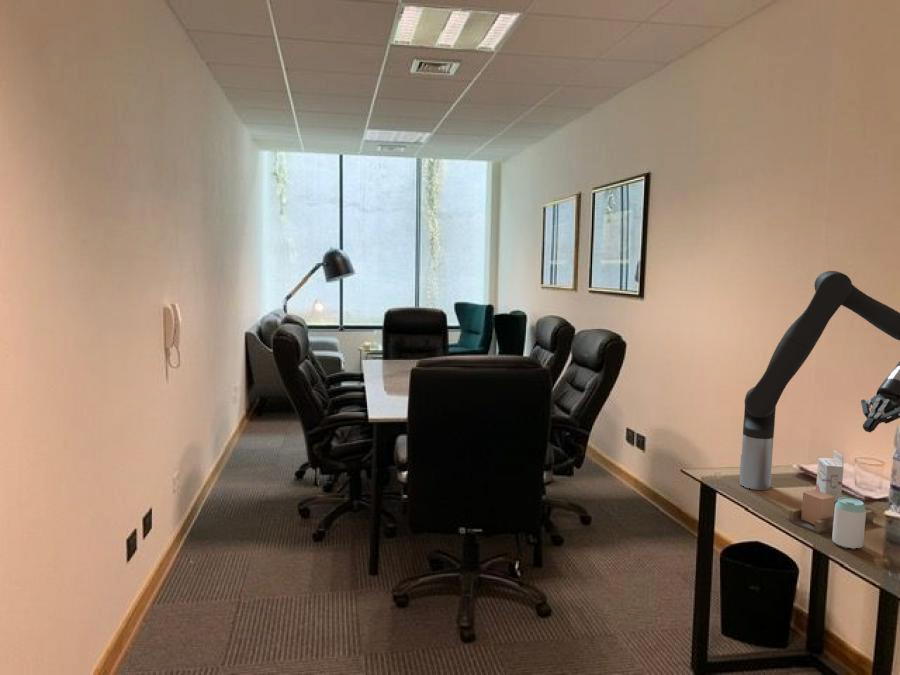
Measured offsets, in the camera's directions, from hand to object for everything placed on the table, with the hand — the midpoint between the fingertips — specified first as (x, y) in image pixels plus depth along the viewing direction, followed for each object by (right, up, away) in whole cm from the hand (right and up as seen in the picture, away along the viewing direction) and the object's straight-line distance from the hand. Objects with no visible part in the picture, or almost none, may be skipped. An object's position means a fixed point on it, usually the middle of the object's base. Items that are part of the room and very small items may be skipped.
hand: (866, 430), depth 190 cm
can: (-16, -28, -16) cm, 36 cm away
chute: (-11, -26, -1) cm, 28 cm away
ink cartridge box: (-1, -24, +18) cm, 30 cm away
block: (-17, -26, -4) cm, 31 cm away
